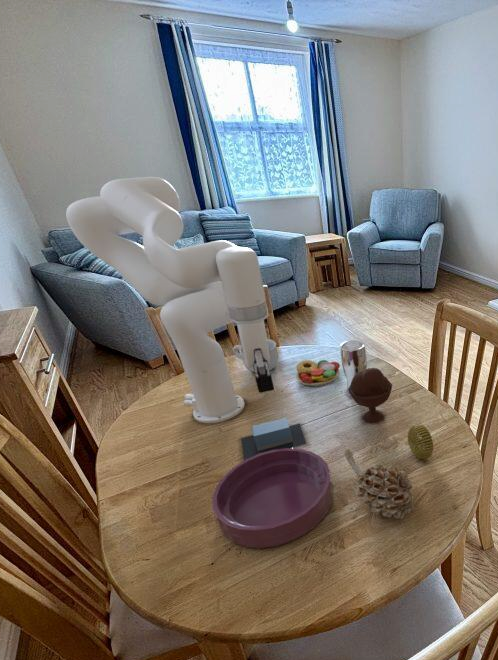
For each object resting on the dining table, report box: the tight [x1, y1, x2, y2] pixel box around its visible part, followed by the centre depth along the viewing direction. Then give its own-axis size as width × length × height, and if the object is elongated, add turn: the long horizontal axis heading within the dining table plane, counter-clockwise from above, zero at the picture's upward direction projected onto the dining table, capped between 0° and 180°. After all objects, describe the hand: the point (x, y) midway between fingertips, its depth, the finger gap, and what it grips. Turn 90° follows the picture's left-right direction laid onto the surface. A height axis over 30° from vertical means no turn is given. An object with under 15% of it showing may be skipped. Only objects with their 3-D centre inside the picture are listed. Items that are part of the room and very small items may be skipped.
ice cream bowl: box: [348, 367, 393, 424], centre depth 104 cm, size 11×11×15 cm
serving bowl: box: [211, 447, 334, 549], centre depth 81 cm, size 22×22×6 cm
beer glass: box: [340, 339, 368, 398], centre depth 115 cm, size 7×7×15 cm
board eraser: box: [251, 417, 293, 451], centre depth 98 cm, size 8×4×4 cm, turn 116°
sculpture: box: [407, 424, 434, 460], centre depth 93 cm, size 8×4×8 cm, turn 29°
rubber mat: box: [240, 423, 307, 461], centre depth 99 cm, size 14×9×1 cm, turn 116°
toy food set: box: [295, 359, 341, 387], centre depth 126 cm, size 13×13×3 cm
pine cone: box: [344, 447, 415, 519], centre depth 82 cm, size 22×10×10 cm, turn 46°
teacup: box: [232, 338, 279, 373], centre depth 129 cm, size 14×11×8 cm
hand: (264, 380), depth 94 cm, fingers open, 9 cm apart
